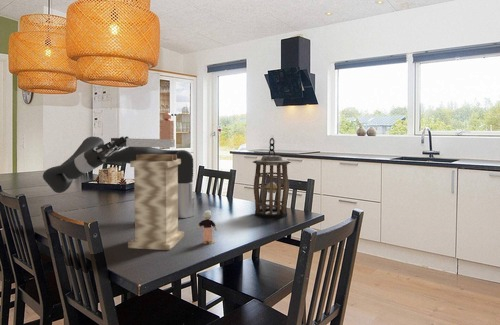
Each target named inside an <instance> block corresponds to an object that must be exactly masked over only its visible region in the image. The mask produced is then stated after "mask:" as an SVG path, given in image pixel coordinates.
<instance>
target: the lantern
mask: <svg viewBox="0 0 500 325" xmlns="http://www.w3.org/2000/svg"><path fill="white" fill-rule="evenodd" d="M275 142H276V141H275V139H274V138H273V137H270V138H269V147H268V148H269V150H268V154H267V155H262V156H261V159H255V160H254V161H252V163H254V164H255V173H254V179H253V196H254V203H255V204H254V206H255V211H254V216H255V217H257V218H262V219H269V218H274V220H276V218H277V219H283V218H285V217H287V216H288V215H287V205H288V204H287V203H288V196H289V190H290V182H289V177H288V165H289V164H292V162H291V161H289V160H287V159H286V160H285V159H283V158H282V156H281V155H276V152H275ZM271 153H273V154H272V155H271ZM261 166H262V167H261ZM267 166H269V172H267ZM274 166H276V172H274ZM261 168H262V172H261ZM260 178H261V179H260ZM266 178H267V179H268V178H269V182H268V183H266ZM274 179H276V180H277V183H276V182H275V181H274ZM260 180H261V183H260ZM282 182H283V184H282ZM260 190H261V199H260ZM266 192H267V193H269V198H268V199H266ZM273 194H276V197H275V198H276V200H275V199H273V197H274V195H273ZM281 196H282V197H281ZM266 203H268V204H266ZM274 203H275V204H274Z"/></svg>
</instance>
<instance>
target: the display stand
mask: <svg viewBox="0 0 500 325" xmlns="http://www.w3.org/2000/svg"><path fill="white" fill-rule="evenodd" d="M179 164H181V159H177V155H165V154H141V155H136V160H135V161H130V164H129V166H130V168H134V170H133V172H134V175H133V176H134V177H133V178H134V180H133V182H134V183H133V184H134V186H133V187H134V238H132V239H131V240H130V241H129V242H127V249H138V250H140V249H141V250H159V251H161V250H162V251H170V250H172V249H173V248H174V247H175V246H176V245H177V244H178V243H179V242H180V241H181V240H182V239H183V238H184V237H185V231H183V230H181V231H180V230H179V218H178V165H179Z"/></svg>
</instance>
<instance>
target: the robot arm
mask: <svg viewBox="0 0 500 325" xmlns="http://www.w3.org/2000/svg"><path fill="white" fill-rule="evenodd" d="M118 138H119V139H117V140H115V141H112V142H111V141H109V142H107V143H105V141H104V140H103V138H101V137H99V136H87V137H86V138H85V139H84V140H83V141H82V143H81V144H80V145H79V147H77V149H76V150H75V151H74V153H73V154H72V155H70V157H68V158H67V160H65V161H64V162H63V163H61V164H60V165H57V166H56V165H55V166H53V167H49V168H48V169H45V170H44V172H43V173H42V179H43V180H44V182H45V183H46V184H47V185H48V186H49V187H50V189H51V190H52V191H53V192H55V193H57V194H63V193H64V192H66V191H68V190H69V188H70V187H71V185H72V184H73V180H76V179H79V178H80V177H82V176H83V175H85V174H87V173H89V172H90V173H91V171H93V170H95V169H97V168H99V167H100V166H103V164H105V163H119V164H120V163H121V164H129V165H130V161H135V160H136V155H141V154H165V155H177V159H181V164H179V165H178V219H179V218H180V219H186V218H187V219H188V218H191V217H195V196H194V194H193V191H194V190H193V186H194V185H193V184H194V157H193V155H192V153H191V152H189V151H188V150H185V149H178V150H177V149H175V150H174V149H172V150H171V149H161V148H158V147H117V146H119V145H121V144H122V143H124V142H126V140H125V138H129V136H120V137H118Z"/></svg>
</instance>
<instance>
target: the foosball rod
mask: <svg viewBox="0 0 500 325" xmlns="http://www.w3.org/2000/svg"><path fill="white" fill-rule="evenodd" d="M161 117H162V120H159V138H133V137H132V138H131V137H130V138H125V140H126V142H124V143H122V144H121V145H119V146H117V147H123V148H127V147H152V148H175V147H176V146H175V139H174V138H175V135H174V134H175V133H174V132H175V131H174V130H175V129H174V128H175V126H174V124H175V122H174V120H171V119H172V114H171V113H170V112H169V111H168V112H167V111H165V112H163V113H162V116H161ZM119 138H120V137H110V142H112V141H115V140H117V139H119Z"/></svg>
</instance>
